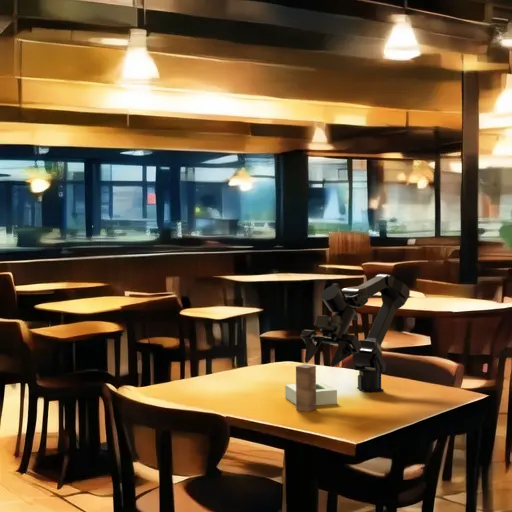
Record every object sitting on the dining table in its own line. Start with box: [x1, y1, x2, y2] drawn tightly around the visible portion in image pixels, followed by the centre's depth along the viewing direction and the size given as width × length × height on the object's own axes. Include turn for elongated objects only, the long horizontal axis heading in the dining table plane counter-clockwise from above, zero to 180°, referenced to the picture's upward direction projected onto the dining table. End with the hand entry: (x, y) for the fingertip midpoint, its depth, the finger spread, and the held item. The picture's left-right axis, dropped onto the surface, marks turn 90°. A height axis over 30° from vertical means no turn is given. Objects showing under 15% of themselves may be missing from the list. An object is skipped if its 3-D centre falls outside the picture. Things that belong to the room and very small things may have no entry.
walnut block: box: [295, 363, 317, 413], centre depth 210 cm, size 4×4×12 cm
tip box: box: [284, 381, 338, 406], centre depth 221 cm, size 12×12×4 cm
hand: (318, 364), depth 214 cm, fingers open, 9 cm apart
